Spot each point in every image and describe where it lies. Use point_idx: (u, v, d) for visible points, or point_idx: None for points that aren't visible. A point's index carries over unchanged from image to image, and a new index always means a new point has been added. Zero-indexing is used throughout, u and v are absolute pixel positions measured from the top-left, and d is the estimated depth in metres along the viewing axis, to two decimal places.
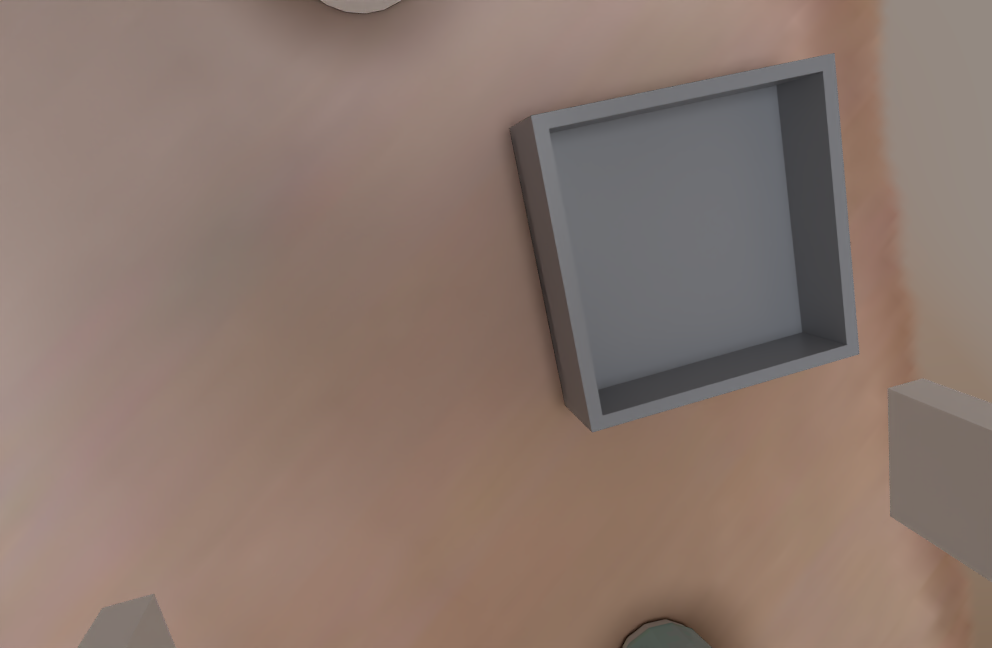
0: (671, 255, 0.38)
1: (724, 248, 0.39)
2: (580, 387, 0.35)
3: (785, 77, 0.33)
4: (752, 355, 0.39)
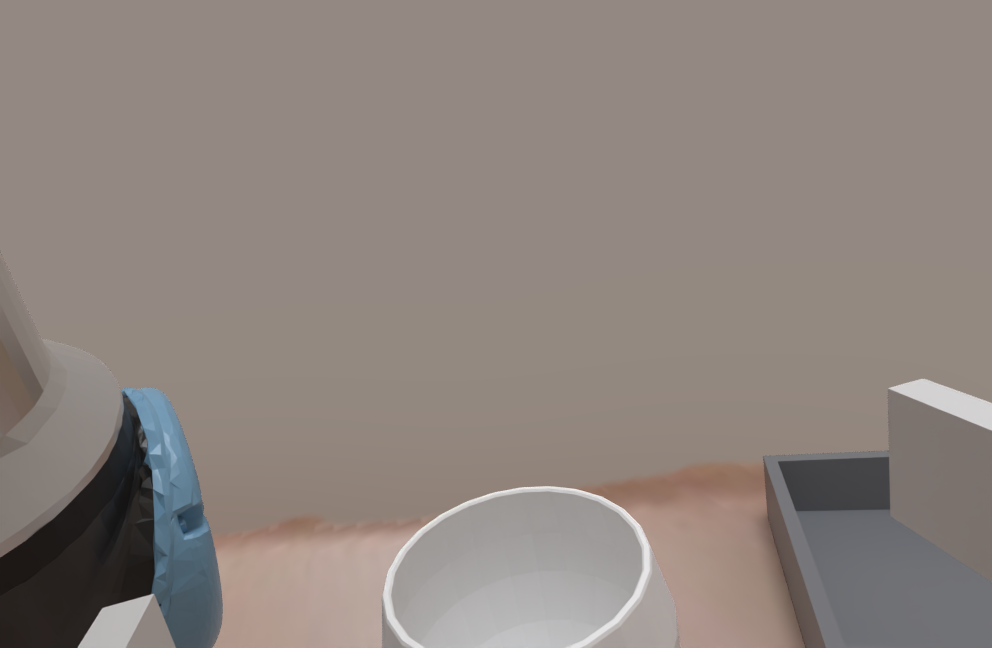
0: (986, 600, 0.33)
1: None
2: None
3: (783, 479, 0.40)
4: None
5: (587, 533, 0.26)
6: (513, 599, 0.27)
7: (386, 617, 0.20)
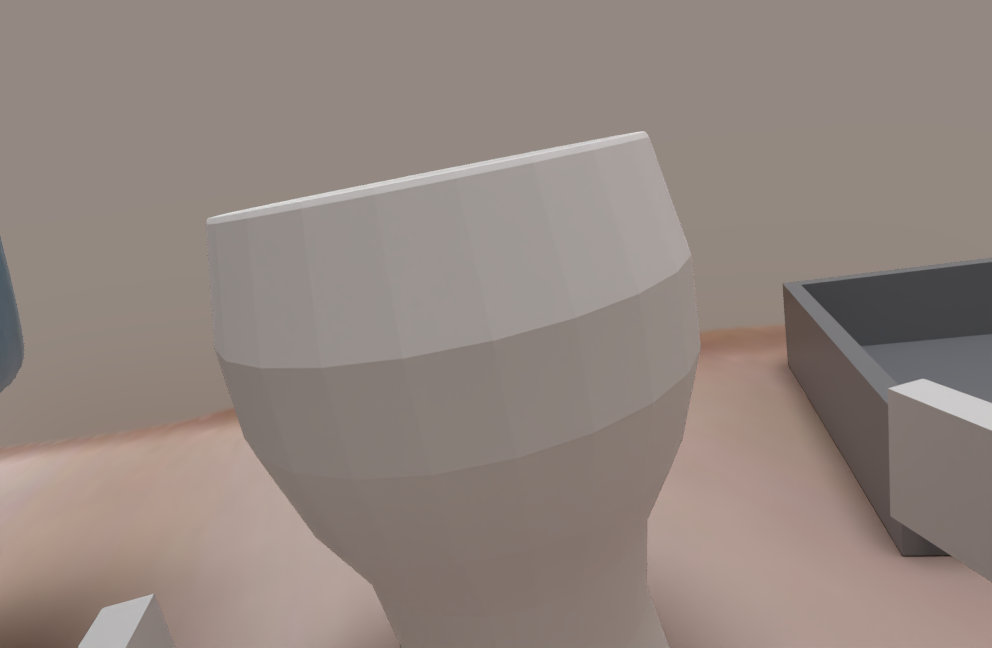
0: None
1: None
2: None
3: (809, 295, 0.32)
4: None
5: None
6: None
7: None
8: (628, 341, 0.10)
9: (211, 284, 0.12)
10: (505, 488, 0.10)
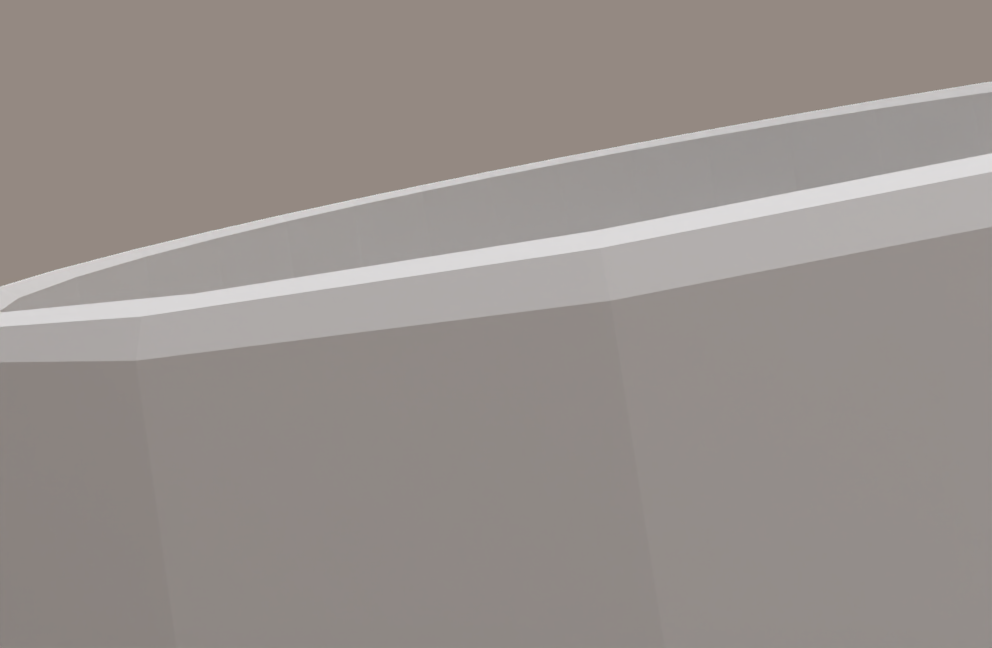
0: None
1: None
2: None
3: None
4: None
5: None
6: None
7: None
8: None
9: None
10: None
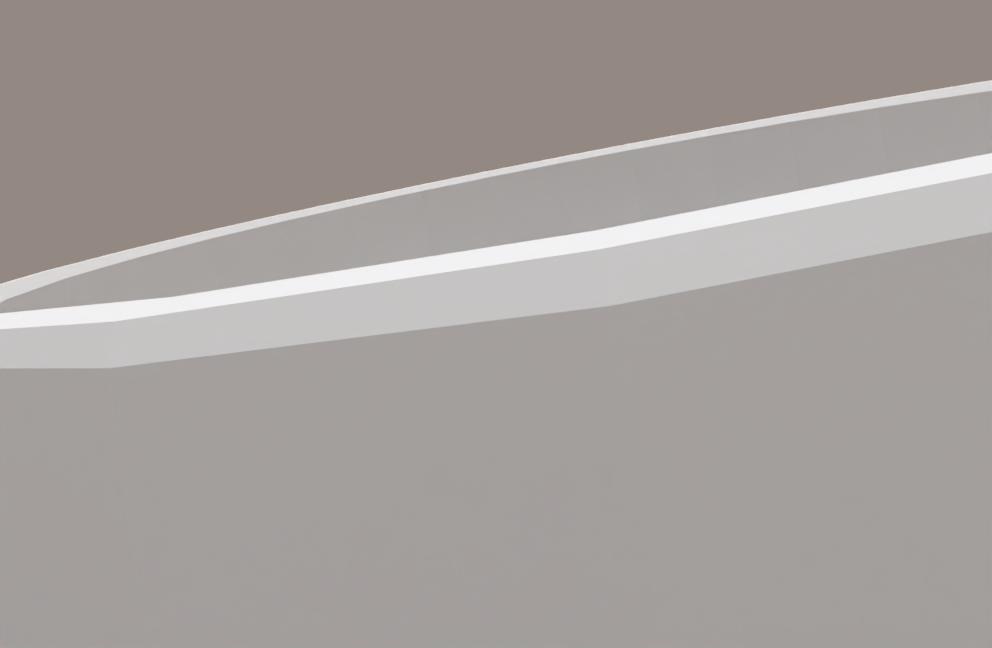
0: None
1: None
2: None
3: None
4: None
5: None
6: None
7: None
8: None
9: None
10: None
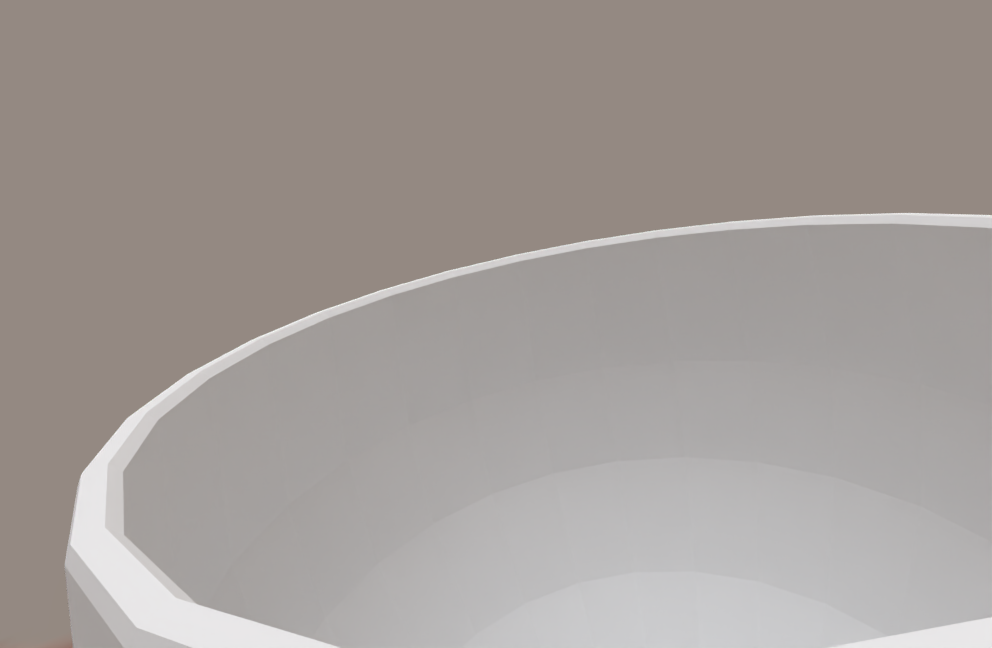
0: None
1: None
2: None
3: None
4: None
5: (747, 351, 0.11)
6: (559, 525, 0.12)
7: None
8: None
9: None
10: None
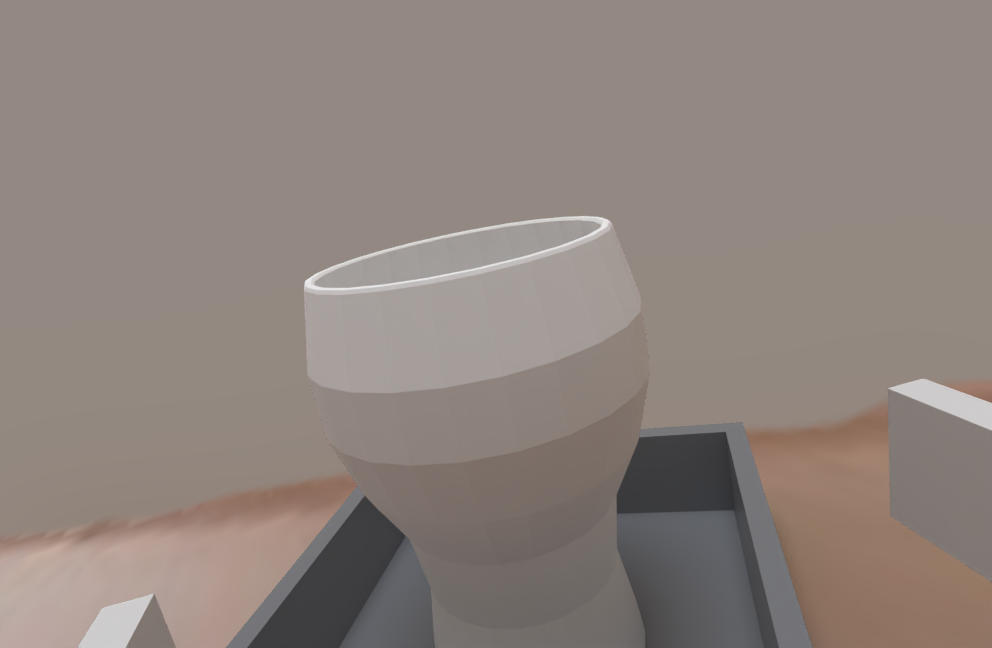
0: None
1: None
2: None
3: None
4: (746, 548, 0.23)
5: None
6: None
7: (304, 288, 0.17)
8: (591, 374, 0.15)
9: (307, 332, 0.17)
10: (510, 471, 0.15)
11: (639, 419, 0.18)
